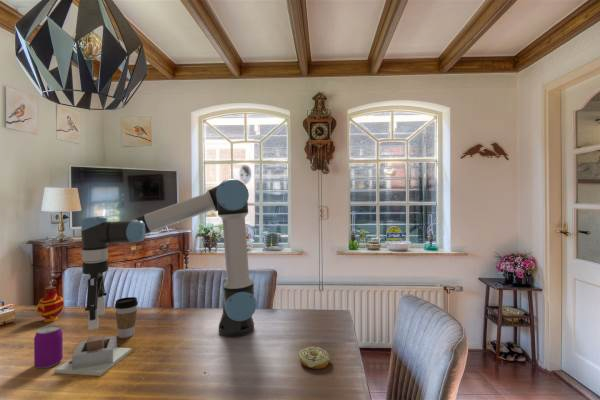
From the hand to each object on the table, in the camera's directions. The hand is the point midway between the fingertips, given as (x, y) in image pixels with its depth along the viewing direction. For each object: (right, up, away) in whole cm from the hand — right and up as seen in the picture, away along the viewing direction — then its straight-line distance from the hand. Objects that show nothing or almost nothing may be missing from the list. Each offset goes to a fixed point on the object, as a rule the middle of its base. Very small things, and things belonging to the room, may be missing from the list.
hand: (97, 321), depth 110 cm
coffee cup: (-1, -14, +21) cm, 25 cm away
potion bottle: (-45, -14, +37) cm, 60 cm away
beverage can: (-16, -14, -1) cm, 21 cm away
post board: (-1, -14, 0) cm, 14 cm away
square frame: (0, -13, 0) cm, 13 cm away
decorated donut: (+76, -15, +1) cm, 77 cm away
